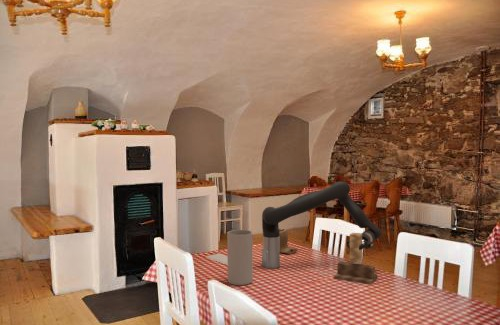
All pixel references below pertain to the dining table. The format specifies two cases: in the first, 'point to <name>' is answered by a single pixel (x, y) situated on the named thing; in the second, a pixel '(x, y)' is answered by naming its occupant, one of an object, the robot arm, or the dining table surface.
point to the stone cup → (285, 243)
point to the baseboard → (219, 258)
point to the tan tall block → (355, 247)
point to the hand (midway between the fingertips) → (354, 247)
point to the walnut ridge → (355, 273)
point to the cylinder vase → (240, 257)
